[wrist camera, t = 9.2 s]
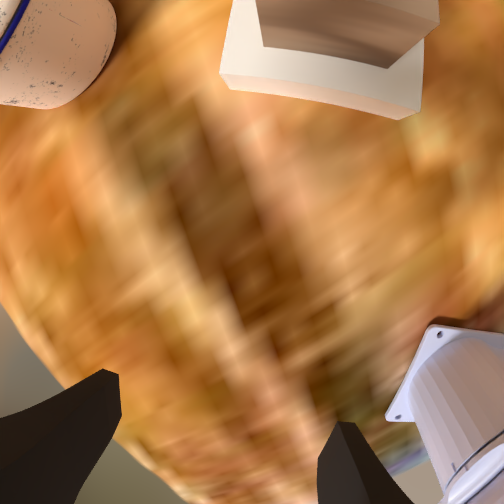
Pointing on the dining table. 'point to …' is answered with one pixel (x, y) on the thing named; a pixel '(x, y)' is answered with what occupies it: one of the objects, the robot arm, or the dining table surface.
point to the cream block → (318, 72)
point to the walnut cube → (348, 27)
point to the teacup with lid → (52, 49)
